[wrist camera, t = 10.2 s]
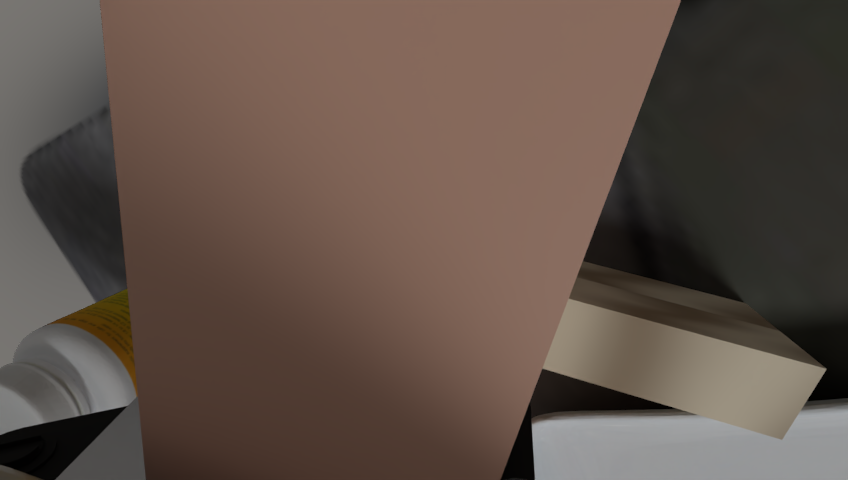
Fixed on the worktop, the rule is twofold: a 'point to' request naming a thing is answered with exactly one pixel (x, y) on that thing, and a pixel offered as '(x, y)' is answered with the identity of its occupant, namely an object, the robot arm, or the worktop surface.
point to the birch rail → (682, 350)
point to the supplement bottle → (71, 367)
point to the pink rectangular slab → (359, 220)
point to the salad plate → (689, 446)
